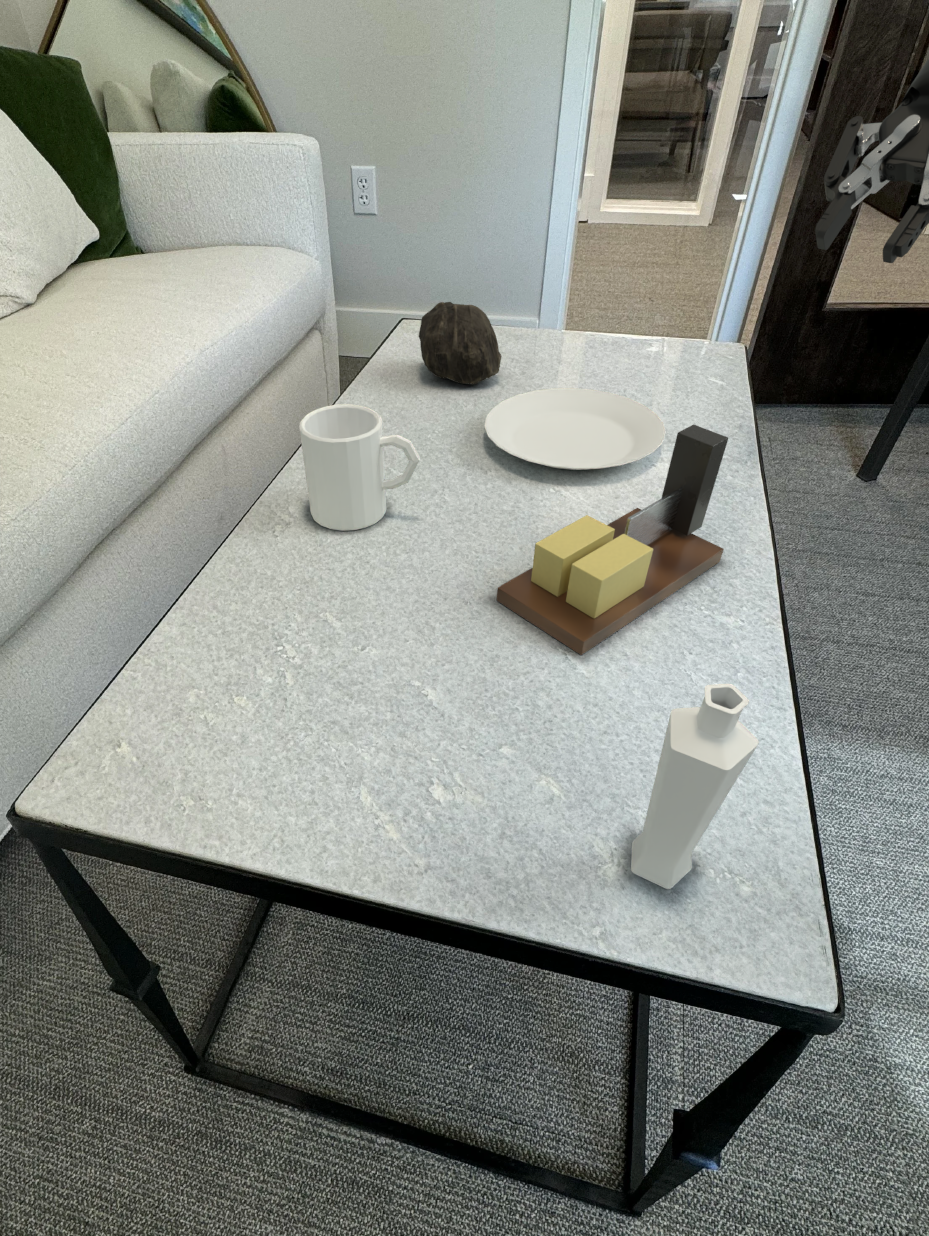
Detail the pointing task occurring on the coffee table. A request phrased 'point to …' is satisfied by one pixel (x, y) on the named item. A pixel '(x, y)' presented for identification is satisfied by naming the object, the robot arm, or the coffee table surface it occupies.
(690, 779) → the white faceted vase
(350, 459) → the mug
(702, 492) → the knife
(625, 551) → the butter
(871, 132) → the robot arm
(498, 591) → the slicer board
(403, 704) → the coffee table surface
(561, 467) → the plate
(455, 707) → the coffee table surface
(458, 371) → the rock
